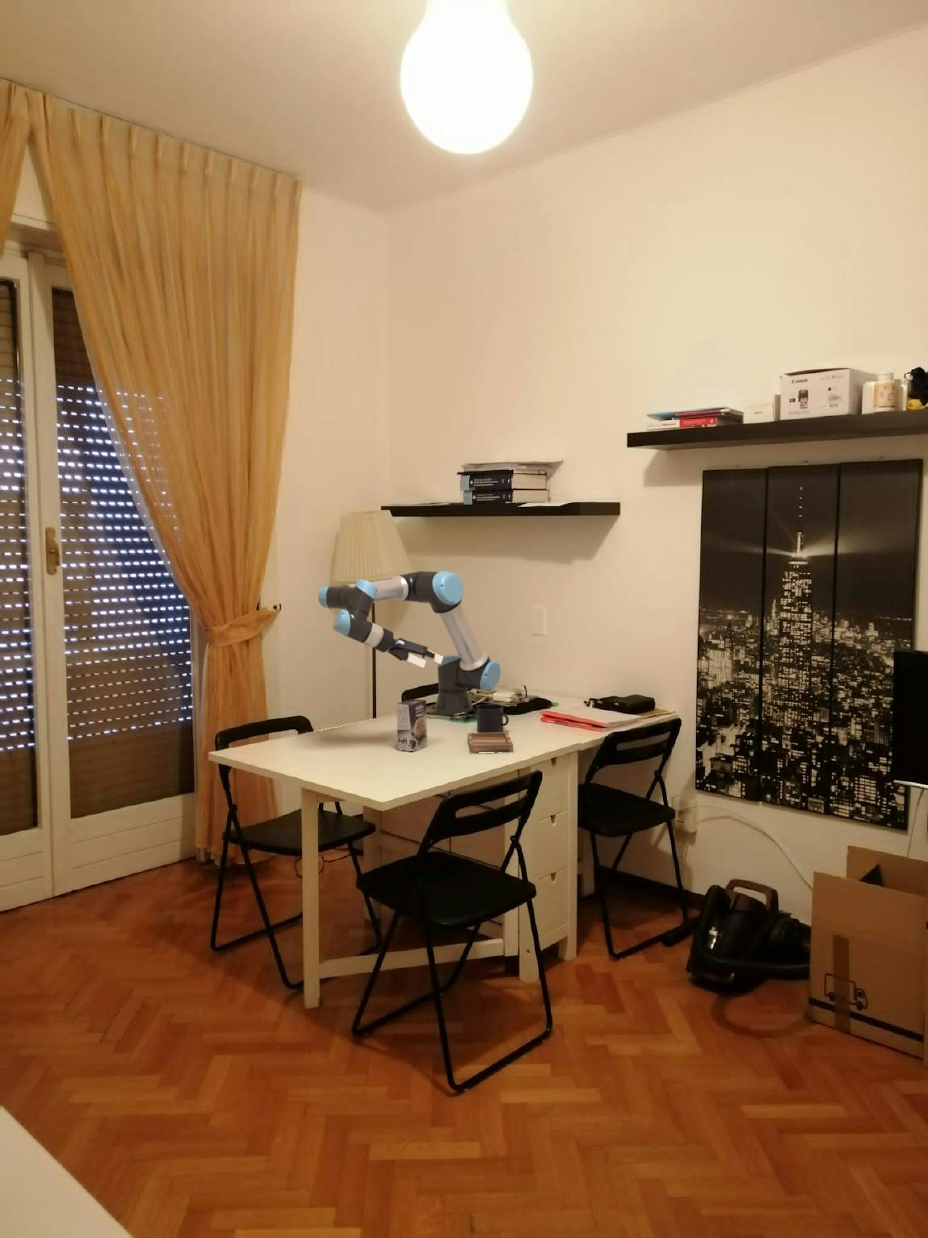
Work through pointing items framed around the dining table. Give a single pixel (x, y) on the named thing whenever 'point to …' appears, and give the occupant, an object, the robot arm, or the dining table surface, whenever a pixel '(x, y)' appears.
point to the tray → (490, 742)
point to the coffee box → (412, 724)
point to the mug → (490, 718)
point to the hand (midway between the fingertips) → (433, 662)
